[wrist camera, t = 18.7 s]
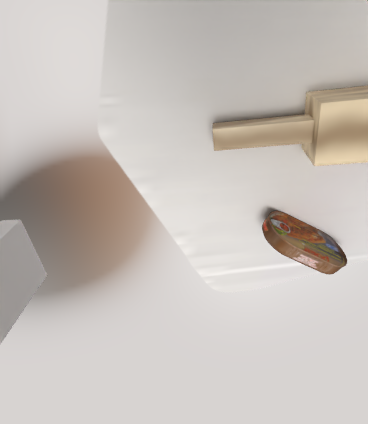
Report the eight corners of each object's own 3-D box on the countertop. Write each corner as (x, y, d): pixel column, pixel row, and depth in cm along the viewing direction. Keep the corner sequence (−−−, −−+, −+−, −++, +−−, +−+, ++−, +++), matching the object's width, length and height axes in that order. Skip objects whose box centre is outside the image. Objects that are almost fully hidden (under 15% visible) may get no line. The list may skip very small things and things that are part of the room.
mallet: (211, 101, 43) (210, 114, 37) (368, 85, 40) (394, 95, 34) (215, 154, 47) (215, 173, 42) (358, 143, 44) (379, 161, 39)
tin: (338, 239, 54) (357, 272, 47) (326, 251, 55) (342, 284, 48) (266, 203, 51) (274, 232, 44) (256, 217, 53) (262, 247, 46)
